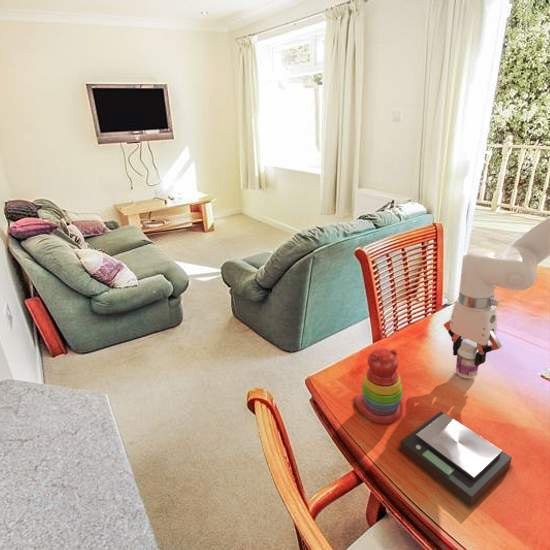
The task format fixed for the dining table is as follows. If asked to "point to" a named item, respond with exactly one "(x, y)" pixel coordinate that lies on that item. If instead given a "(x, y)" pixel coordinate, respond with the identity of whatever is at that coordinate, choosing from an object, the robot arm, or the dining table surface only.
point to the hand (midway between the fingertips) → (468, 358)
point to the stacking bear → (381, 387)
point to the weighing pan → (459, 445)
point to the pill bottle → (467, 359)
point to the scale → (452, 468)
